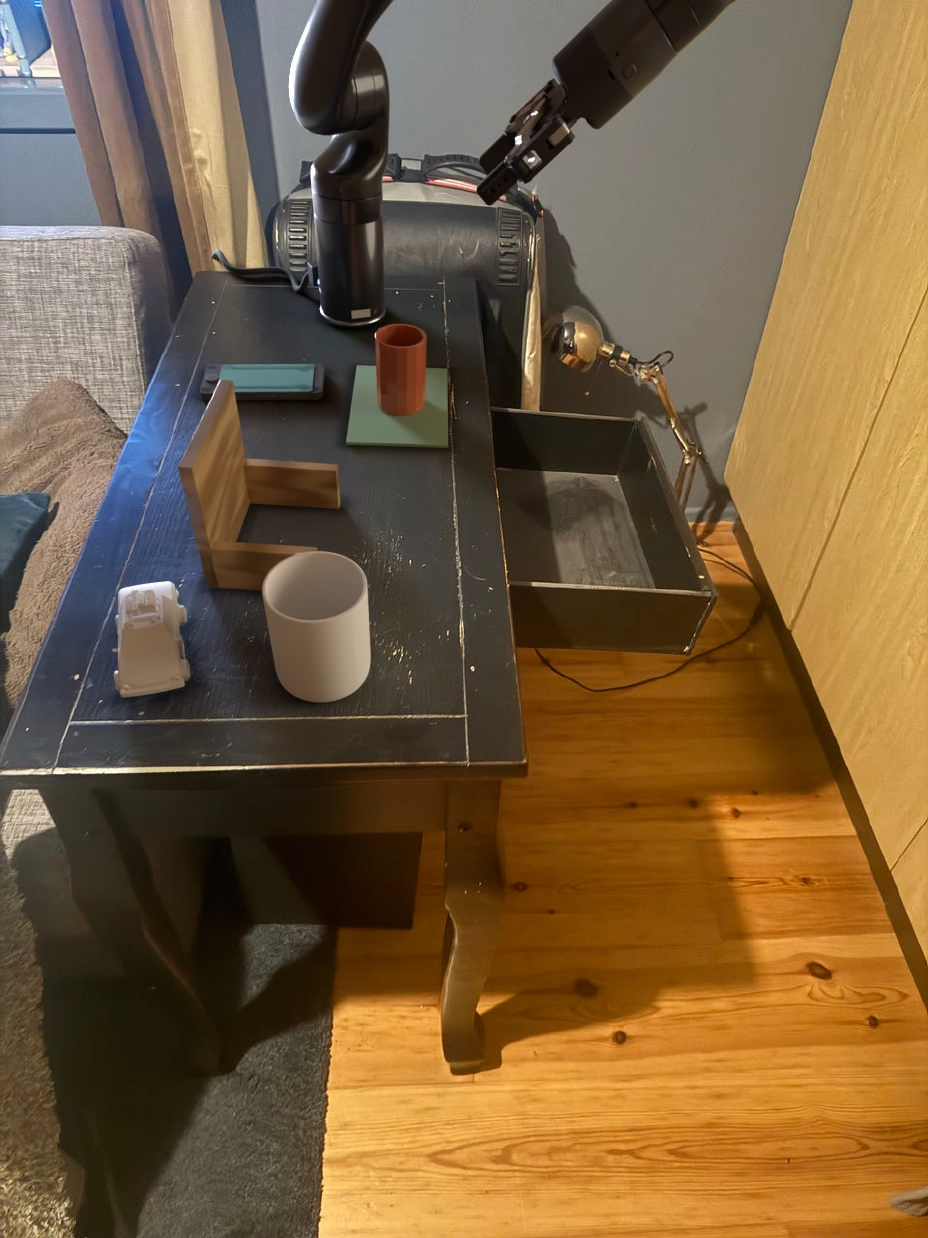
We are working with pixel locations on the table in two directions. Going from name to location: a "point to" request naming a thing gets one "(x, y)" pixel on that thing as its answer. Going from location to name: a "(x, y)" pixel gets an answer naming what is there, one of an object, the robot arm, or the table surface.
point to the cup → (400, 369)
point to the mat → (398, 430)
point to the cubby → (242, 495)
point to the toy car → (150, 640)
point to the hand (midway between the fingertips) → (482, 182)
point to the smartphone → (266, 381)
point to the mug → (318, 625)
